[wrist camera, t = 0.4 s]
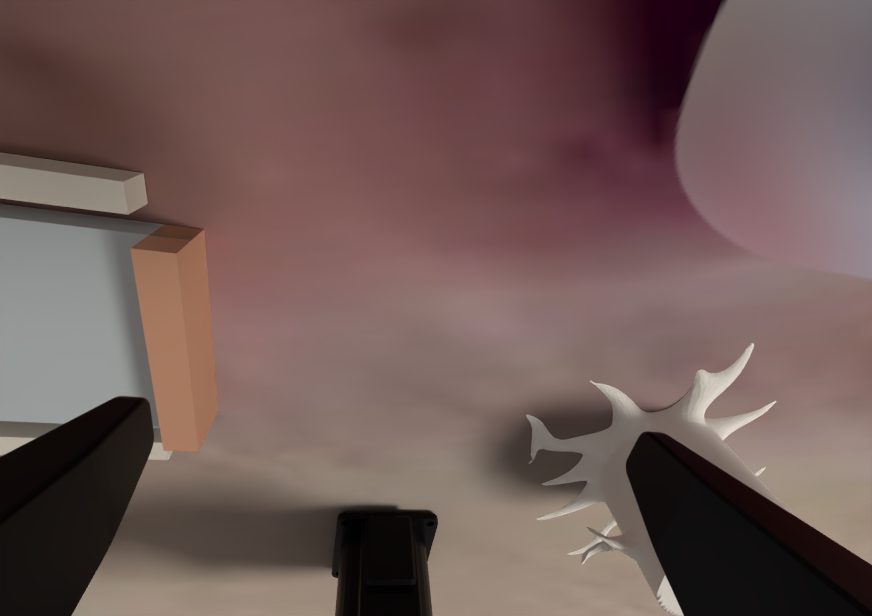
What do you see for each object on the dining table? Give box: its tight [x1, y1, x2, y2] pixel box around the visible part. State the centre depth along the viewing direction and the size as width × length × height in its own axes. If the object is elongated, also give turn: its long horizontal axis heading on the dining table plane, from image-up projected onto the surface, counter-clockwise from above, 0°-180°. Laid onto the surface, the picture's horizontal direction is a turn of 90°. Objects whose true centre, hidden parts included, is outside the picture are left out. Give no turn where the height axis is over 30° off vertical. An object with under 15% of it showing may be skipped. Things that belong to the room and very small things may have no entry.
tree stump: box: [526, 343, 790, 616], centre depth 25 cm, size 20×19×8 cm
